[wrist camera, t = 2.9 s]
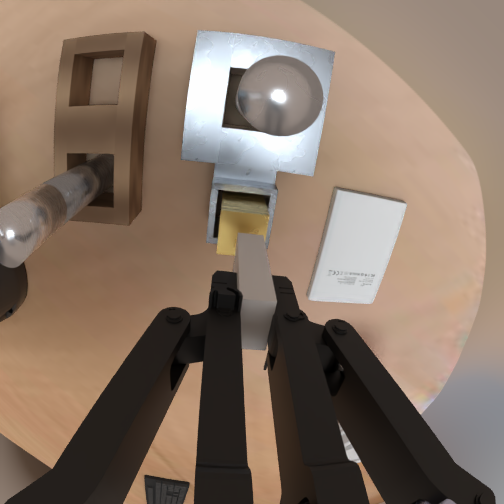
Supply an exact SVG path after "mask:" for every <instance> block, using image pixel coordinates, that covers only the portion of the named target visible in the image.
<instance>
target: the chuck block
mask: <svg viewBox="0 0 504 504" xmlns="http://www.w3.org/2000/svg"><path fill="white" fill-rule="evenodd" d="M275 55H283V56H290V57H293V58H296V59H298V60H300V61H302V62H304V63H305V64H307V65H308V66H309V67H310V68H311V69H312V70H313V71H314V72H315V73H316V75H317V76H318V78H319V80H320V82H321V85H322V89H323V105H322V109H321V112H320V114H319V116H318V118H317V119H316V120H315V122H314V123H313V124H312V125H311V126H310V127H308V128H307V129H306V130H304V131H302V132H300V133H298V134H295V135H292V136H282V137H280V136H272V135H269V134H266V133H263V132H261V131H259V130H258V129H256V128H253V127H246V126H238V125H229V124H224V117H225V110H226V103H227V96H228V89H229V82H230V76H231V74H234V75H242V76H243V75H244V73H245V72H246V70H247V69H248V68H249V67H250V66H251V65H253V64H254V63H255V62H257V61H259V60H260V59H263V58H265V57H269V56H275ZM334 55H335V52H333V51H329V50H325V49H322V48H317V47H313V46H309V45H304V44H300V43H295V42H290V41H285V40H279V39H273V38H267V37H261V36H254V35H246V34H238V33H228V32H217V31H202V30H198V33H197V38H196V44H195V50H194V57H193V63H192V69H191V76H190V83H189V91H188V98H187V106H186V114H185V123H184V132H183V142H182V152H181V160H188V161H199V162H209V163H215V169H214V177H213V181H212V188H211V198H210V208H209V218H208V228H207V240H206V243H213V244H217V243H218V233H219V223H220V216H216V211H217V202H218V193H219V190H227V191H236V192H245V193H253V194H261V195H263V197H264V200H265V203H266V206H267V209H268V212H269V215H270V217H269V222H268V228H267V234H266V239H265V245H266V249H268V244H269V238H270V233H271V227H272V222H273V216H274V210H275V205H276V199H277V193H278V189H277V187H276V185H275V179H276V173H277V171H283V172H289V173H296V174H302V175H308V176H313V175H314V170H315V165H316V160H317V154H318V149H319V144H320V139H321V133H322V128H323V122H324V117H325V111H326V105H327V99H328V93H329V87H330V81H331V75H332V69H333V62H334Z"/></svg>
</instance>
